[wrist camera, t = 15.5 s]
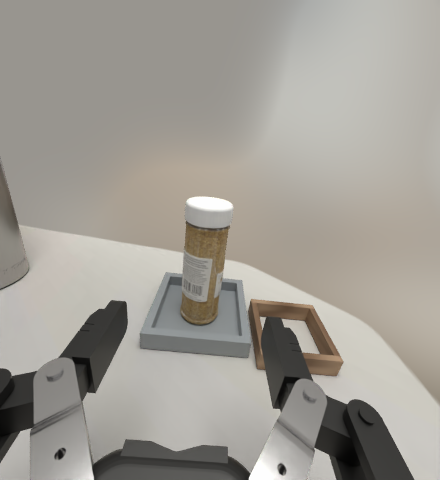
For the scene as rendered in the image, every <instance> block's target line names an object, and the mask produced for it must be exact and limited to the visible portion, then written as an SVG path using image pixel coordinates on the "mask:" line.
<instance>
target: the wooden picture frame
mask: <svg viewBox="0 0 440 480" xmlns="http://www.w3.org/2000/svg"><path fill="white" fill-rule="evenodd" d="M248 313H249V320H250V326H251V333H252V339H253V345H254V352H255V358H256V365H257V369H263V370H266V369H265V364H264V359H263V354H262V349H261V335H262V326H261V322H260V317H259V316H264V317H267V316H270V317H280V318H284V319H294V320H304V321H305V322H306V324H307V326H308V328H309V330H310V332H311V335H312V337H313V339H314V341H315V343H316V345H317V347H318V350H319V352H320V354H312V353H303V356H304V358H305V361H306V364H307V366H308V369H309V372H310V374H320V375H331V376H337V374H338V372H339V370H340V368H341V366H342V364H343V360H342V358H341V356H340V354H339V353H338V351H337V349H336V347H335V345H334V344H333V342H332V340H331V338H330V336H329V334H328V333H327V331H326V329H325V327H324V325H323V324H322V322H321V320H320V318H319V316H318V315H317V313H316V311H315V309H314V307H313V305H304V304H294V303H284V302H274V301H265V300H255V299H251V301H250V306H249V310H248Z"/></svg>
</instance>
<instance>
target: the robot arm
mask: <svg viewBox="0 0 440 480" xmlns="http://www.w3.org/2000/svg"><path fill="white" fill-rule="evenodd" d="M28 269H29V265H28V261H27V257H26V253H25V249H24V245H23V241H22V237H21V233H20V229H19V226H18V222H17V218H16V214H15V210H14V207H13V203H12V199H11V196H10V192H9V188H8V184H7V180H6V176H5V173H4V169H3V165H2V161H1V158H0V288H3V287H5V286H8V285H10V284H12V283H14V282H15V281H17V280H19V279H20V278H21V277H23V276H24V275H25V274H26V273H27V271H28ZM127 325H128V319H127V304H126V302H125V301H115V300H111V301H110V302H109V304H108V305H107V307H106V308H105V309H98V310H97V311H96V312H94V313H93V314H92V315H90V317H89V318H88V319H87V321H86V322H85V324H84V325H83V326H82V327H81V329H80V331H78V333H77V334H76V335H75V337H74V338H73V339H72V341H71V342H70V343H69V345H68V346H67V347H66V349H65V350H64V351H63V353H62V354H61V355H60V357H59V358H57V359H54V360H52V361H50V362H48V363H46V364H45V365H43V366H42V367H41V368H40V369H39V370H38V371H35V372H31V373H25V374H20V375H15V376H12V375H11V373H10V371H9V370H7V369H2V368H1V369H0V462H1V461H2V459H3V458H4V456H5V455H6V453H7V451H8V450H9V448H10V447H11V445H12V444H13V442H14V440H15V439H16V437H17V436H18V434H19V433H20V431H23V430H26V429H30V428H32V429H31V432H30V480H307V477H308V474H309V471H310V467H311V464H312V460H313V457H314V452H315V450H314V448H316V449H318V450H320V451H323V452H325V453H327V454H329V456H330V459H331V463H332V466H333V470H334V473H335V476H336V480H414V478H413V476H412V474H411V473H410V471H409V469H408V467H407V465H406V463H405V461H404V459H403V457H402V455H401V454H400V452H399V450H398V448H397V446H396V444H395V442H394V440H393V438H392V437H391V435H390V433H389V431H388V429H387V427H386V425H385V423H384V421H383V419H382V418H381V416H380V415H379V413H378V412H377V411H376V410H375V409H374V408H373V407H372V406H370V405H369V404H367V403H366V402H364V401H361V400H357V399H354V400H351V401H350V402H349V403H348V405H347V404H345V403H342V402H340V401H337V400H335V399H332V398H330V397H328V396H327V395H325V393H324V391H323V390H322V389H321V387H320V386H319V385H317V384H316V383H315V382H313V379H312V377H311V374H310V372H309V369H308V366H307V364H306V361H305V358H304V356H303V353H302V351H301V348H300V346H299V343H298V340H297V337H296V335H295V334H294V333H293V332H292V330H291V329H290V328H285V327H284V325H283V322H282V320H281V318H280V317H270V316H267V317H266V320H265V324H264V328H263V331H262V335H261V349H262V354H263V359H264V364H265V369H266V375H267V380H268V385H269V390H270V396H271V401H272V406H273V408H274V409H280V411H281V414H280V416H279V418H278V420H277V421H276V423H275V425H274V427H273V429H272V432H271V434H270V436H269V438H268V440H267V442H266V444H265V446H264V448H263V450H262V452H261V455H260V457H259V459H258V461H257V463H256V465H255V467H254V469H253V471H252V473H251V474H250V473H249V472H248V470H247V469H246V468H245V467H244V466H243V465H242V464H240V463H239V462H238V461H236V460H235V459H233V458H232V457H229V456H228V447H223V446H209V445H201V446H197V447H193V448H190V449H186V450H182V451H177V452H176V451H172V450H170V449H168V448H165V447H163V446H161V445H159V444H156V443H154V442H152V441H141V440H127V439H126V440H125V443H124V446H123V449H119V450H116V451H114V452H112V453H110V454H108V455H106V456H104V457H103V458H101V459H100V460H98V461H97V462H96V463H95V464H94V462H93V456H92V451H91V446H90V441H89V435H88V430H87V424H86V419H85V413H84V408H83V402H82V401H83V399H84V398H85V396H86V394H87V392H88V393H96V391H97V389H98V387H99V385H100V383H101V381H102V379H103V377H104V375H105V373H106V371H107V369H108V367H109V365H110V363H111V361H112V359H113V357H114V355H115V353H116V351H117V349H118V347H119V345H120V343H121V341H122V339H123V337H124V335H125V333H126V330H127Z"/></svg>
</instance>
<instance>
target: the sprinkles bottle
mask: <svg viewBox="0 0 440 480" xmlns="http://www.w3.org/2000/svg"><path fill="white" fill-rule="evenodd" d="M232 216H233V205H232V204H231V203H230V202H228V201H226V200H223V199H218V198H213V197H193V198H190V199H188V200H187V201H186V207H185V220H186V237H185V246H184V258H183V276H182V304H181V307H180V312H181V315H182V317H183V318H184V319H185V320H187V321H188V322H190V323H193V324H198V325H201V324H208V323H210V322H212V321H213V320H214V319H215V318H216V316H217V315H218V302H219V295H220V291H221V285H222V277H223V269H224V262H225V250H226V243H227V237H228V236H227V235H228V229H229V228H230V224H231V223H232Z"/></svg>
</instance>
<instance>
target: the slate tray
mask: <svg viewBox="0 0 440 480" xmlns="http://www.w3.org/2000/svg"><path fill="white" fill-rule="evenodd" d="M182 276H183V274H177V273H167V272H166V273H165V275H164V278H163V280H162V283H161V285H160V287H159V290H158V292H157V294H156V297H155V299H154V301H153V304H152V306H151V308H150V311H149V313H148V316H147V318H146V320H145V323H144V325H143V327H142V330H141V332H140V346H141V348H143V349H154V350H165V351H176V352H188V353H199V354H210V355H221V356H232V357H243V358H248V354H249V350H250V346H251V339H250V332H249V325H248V318H247V311H246V305H245V298H244V291H243V284H242V280H234V279H224V278H222V285H221V291H220V295H219V302H218V315H217V316H216V318H215V319H214V320H213V321H212V322H210V323H208V324H201V325H198V324H193V323H190V322H188V321H187V320H185V319H184V318H183V317H182V315H181V312H180V307H181V304H182Z"/></svg>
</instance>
